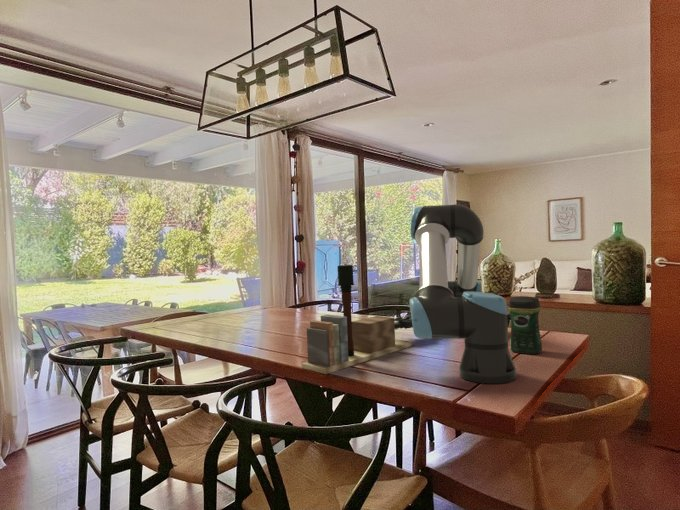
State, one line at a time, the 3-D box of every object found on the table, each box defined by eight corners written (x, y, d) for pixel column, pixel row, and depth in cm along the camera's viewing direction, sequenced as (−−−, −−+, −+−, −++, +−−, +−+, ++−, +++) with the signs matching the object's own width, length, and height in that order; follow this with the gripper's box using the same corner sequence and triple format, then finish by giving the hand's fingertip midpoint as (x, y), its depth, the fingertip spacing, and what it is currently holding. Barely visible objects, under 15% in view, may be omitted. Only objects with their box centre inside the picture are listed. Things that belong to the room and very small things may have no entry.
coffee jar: (544, 350, 149) (542, 295, 148) (537, 356, 142) (535, 298, 142) (515, 347, 155) (513, 294, 154) (507, 352, 149) (505, 297, 148)
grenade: (360, 353, 149) (356, 264, 148) (353, 358, 144) (349, 265, 143) (345, 352, 151) (341, 265, 151) (337, 356, 146) (333, 266, 145)
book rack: (388, 341, 171) (387, 302, 171) (412, 345, 164) (410, 303, 163) (301, 368, 140) (299, 319, 140) (325, 374, 132) (323, 322, 132)
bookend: (378, 342, 164) (377, 315, 164) (395, 345, 159) (394, 317, 158) (352, 350, 154) (351, 321, 154) (369, 353, 149) (368, 323, 148)
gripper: (437, 328, 174) (400, 340, 157) (410, 325, 183) (372, 335, 166) (436, 309, 174) (400, 318, 157) (409, 307, 183) (372, 315, 166)
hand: (386, 327), depth 161 cm, fingers closed
